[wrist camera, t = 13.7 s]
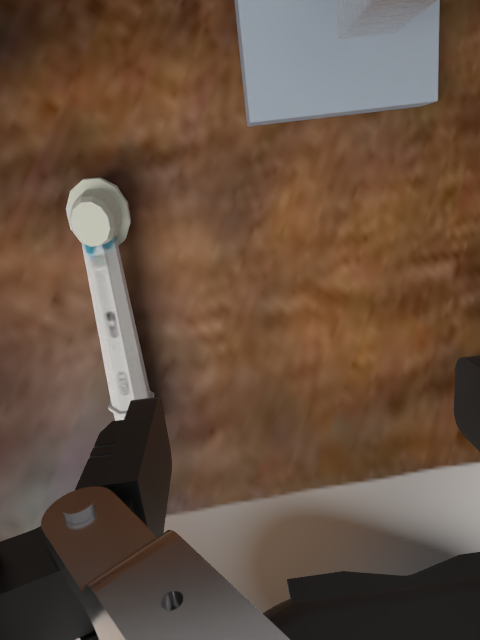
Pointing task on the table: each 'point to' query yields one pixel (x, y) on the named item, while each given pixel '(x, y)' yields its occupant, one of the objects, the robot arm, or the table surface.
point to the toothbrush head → (109, 287)
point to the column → (376, 16)
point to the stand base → (330, 62)
